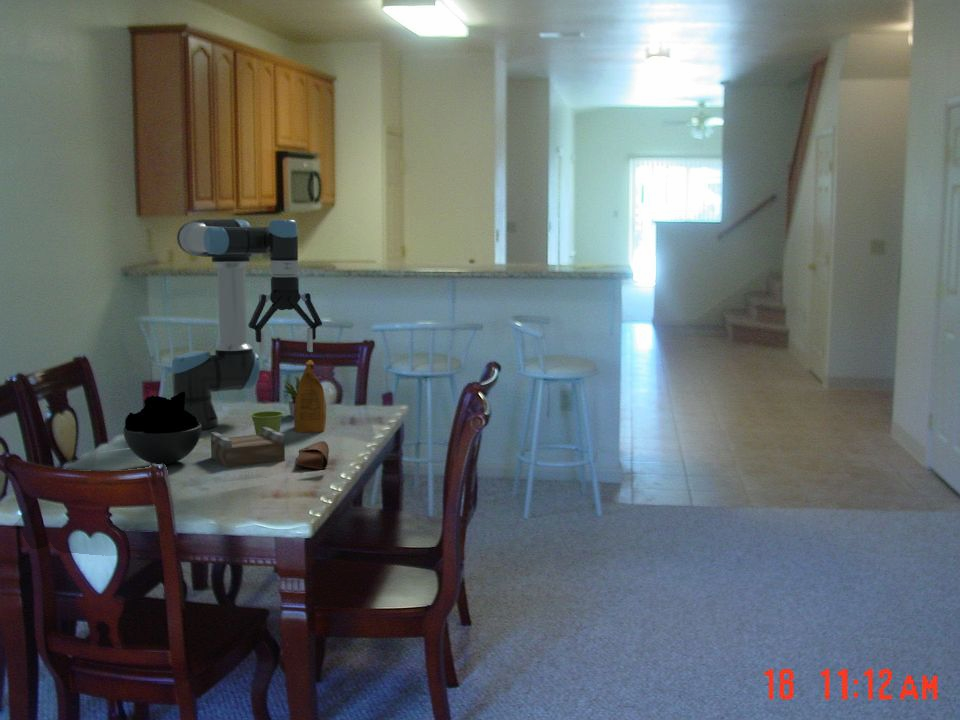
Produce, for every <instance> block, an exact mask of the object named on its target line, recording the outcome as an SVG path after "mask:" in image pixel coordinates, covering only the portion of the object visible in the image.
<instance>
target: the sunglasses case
mask: <svg viewBox="0 0 960 720" xmlns="http://www.w3.org/2000/svg"><path fill="white" fill-rule="evenodd" d="M329 452H330V448H329V445H328V443H327V442H326V441H325V440H320V441H316V442H315V443H312V444H310V445H308V446H306V447H304V448H300V449H299V450H298V455H297V456H298V457H297V459H296V461H295V465H297V466H300V467H304V468H309V469H316V470H323V469H326V468H327V466H328V462H329V454H330V453H329Z"/></svg>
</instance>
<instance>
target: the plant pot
mask: <svg viewBox="0 0 960 720" xmlns="http://www.w3.org/2000/svg"><path fill="white" fill-rule="evenodd" d="M283 415H284V412H282V411H277V410H265V411H256V412H253V413H251V414H250V417H251V418H252V423H253V427H254V431H255V435H259V434H262V427H268V428H270V429H273V430H275V431H277V432H279V433H280V429H281V422H282V418H283Z"/></svg>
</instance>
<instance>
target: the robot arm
mask: <svg viewBox="0 0 960 720" xmlns="http://www.w3.org/2000/svg"><path fill="white" fill-rule="evenodd" d="M298 235H299V230H298V224H297V221H296V220H295V219H271V220H270V221H269V226H252V225H251V224H250V223H249V222H248V221H246V220H244V219H234V218H232V219H231V218H230V219H225V218H224V219H223V218H222V219H221V218H220V219H219V218H218V219H216V218H215V219H214V218H213V219H212V218H211V219H209V218H208V219H206V218H205V219H204V218H203V219H202V218H200V219H199V218H198V219H194V220H193V219H192V220H191V221H187V222H185V223H184V224H182V225H181V226H180V227H179V229H178V231H177V234H176V241H177V242H176V243H177V245H178V246H179V248H180V249H181V250H182V252H184V253H186V254H188V255H190V256H195V257H201V258H202V257H203V258H205V257H206V258H208V257H209V258H211V263H212V264H213V265H214V266H215V268H216V270H217V293H218V295H217V296H218V300H217V301H218V323H219V325H218V326H219V344H218V345H217V346H216V347H215V354H211V353H210V351H208V350H196V351H189V352H185V353H181V354H178V355H176V356H175V357H173V359H172V360H171V371H170V372H171V375H172V376H171V377H172V380H171V381H172V397H174V396H176V395H178V394H179V393H181V392H185V396H186V397H185V406H184V407H185V408H184V409H185V411H187V412H189V413H190V414H192V415H193V416H195V417H196V419H197V422H198V423H200V424H201V425H202V429H201V431H202V430H208V429H214V428H216V427H218V426H219V419H218V418H219V417H218V415H217V412H216V409H215V407H214V404H213V401H212V399H213V398H212V394H213V393H215V392H226V391H227V392H228V391H242V390H248V389H251V388H254V386H255V385H256V384H257V382H258V381H259V380H258V379H259V376H260V371H261V370H260V369H261V367H260V365H261V363H260V357H259V355H258V354H257V352H254V350H253V346H252V345H250V343H249V342H248V328H250V329H253V330H254V331H255V342H256V343H258V345H259V346H258V347H259V351H258V352H259V354H260V355H262V356H263V355H265V354H266V351H265V349H266V347H265V346H266V345H265V343H266V341H265V330H264V329H263V328H264V327H265V325H266V324H268V322H269V320H270V319H271V318H272V316H273V315H274V314H275V313H276V312H277V311H278V310H279V311H286V310H288V311H293V310H294V311H295V312H296V313H297V314H298V315H299V317H301V319H302V320H303V321H304V322H305V323H306V325H308V327H306V351H307V352H309V353H313V352H314V351H313V350H314V349H313V342H314V341H313V340H316V337H317V336H316V334H317V333H316V329H317V328H318V327H320V326H321V327H322V325H323V322H322V320H321V318H320V316H319V314H318V312H317V310H316V308H315V305H314V304H313V302H312V299H311V294H310V293H308V292H304V293H300V290H299V289H300V286H299V282H300V281H299V276H297V275H299V259H298V258H299V244H298V242H299V237H298ZM255 255H269V259H270V275H271V276H272V277H270V294H269V295H268V294H263V293H260V294H259V299H258V303H257V306H256V307H255V310H254V311H253V314H252V317H251V318H250V320H249V323H248V321H247V320H248V319H247V316H248V315H247V314H248V313H247V289H246V288H247V287H246V284H247V283H246V267H247V266H248V265H249V264H250V263H251V262H250V261H251V259H250V258H252V257H254V256H255ZM269 300H270V301H271V305H270V306H269V308H268V309H267V311H266V312H265V313H264V315H263V316H262V317H261V315H262V312H263V311H264V309H265V306H266V304H267V303H268V302H269ZM300 300H302V301H303V302H304V304H305V306H306V308H307V309H308V310H307V311H308V312H309V313H310V316H311V317H312V319H311V318H310V317H309V315H308V314H307V313H306V312H305V311H304V310H303V308H302V307H301V306H300V305H299V301H300ZM260 317H261V318H260ZM259 318H260V320H259Z"/></svg>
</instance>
